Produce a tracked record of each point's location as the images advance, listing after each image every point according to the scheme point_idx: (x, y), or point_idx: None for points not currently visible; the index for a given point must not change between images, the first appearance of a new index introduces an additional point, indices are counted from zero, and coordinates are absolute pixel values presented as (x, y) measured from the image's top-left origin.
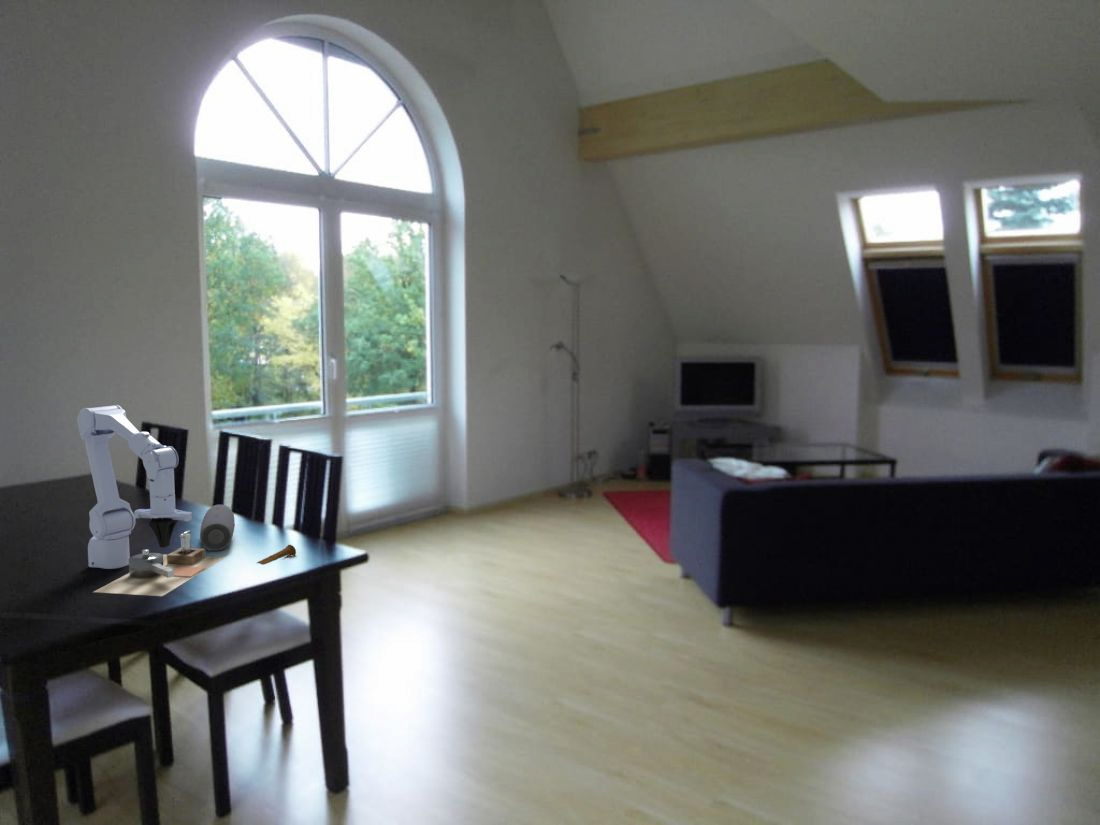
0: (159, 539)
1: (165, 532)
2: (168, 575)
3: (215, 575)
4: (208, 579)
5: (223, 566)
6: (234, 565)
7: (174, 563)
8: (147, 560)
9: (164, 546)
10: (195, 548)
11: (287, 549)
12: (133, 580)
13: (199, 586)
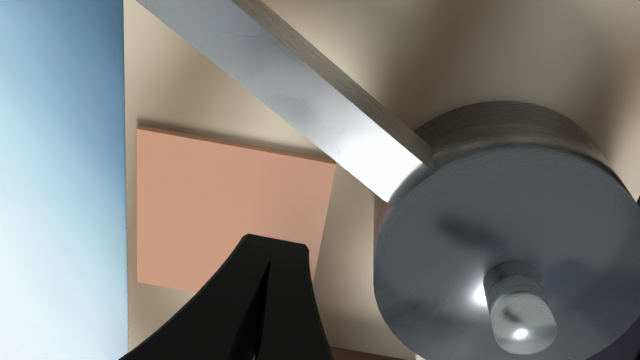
0: (281, 298)
1: (123, 357)
2: None
3: (54, 209)
4: (53, 142)
5: (99, 340)
6: (48, 349)
7: (368, 357)
8: (470, 211)
9: (243, 240)
10: None
11: None
12: (547, 72)
13: (27, 3)
